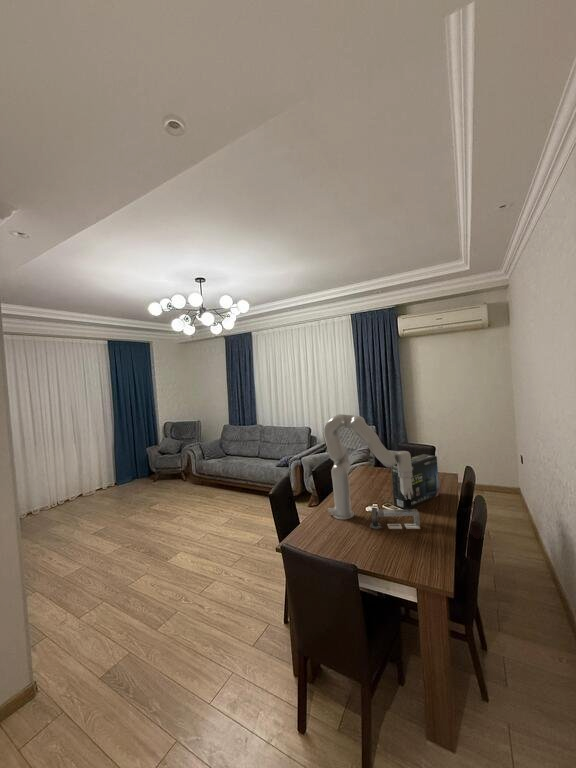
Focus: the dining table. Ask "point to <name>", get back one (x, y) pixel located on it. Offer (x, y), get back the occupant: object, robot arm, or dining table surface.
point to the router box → (418, 481)
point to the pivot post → (375, 519)
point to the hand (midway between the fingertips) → (408, 506)
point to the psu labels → (398, 526)
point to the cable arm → (401, 513)
